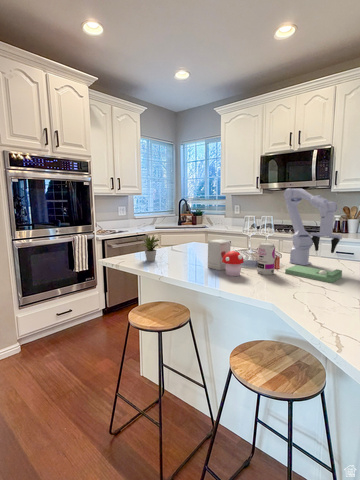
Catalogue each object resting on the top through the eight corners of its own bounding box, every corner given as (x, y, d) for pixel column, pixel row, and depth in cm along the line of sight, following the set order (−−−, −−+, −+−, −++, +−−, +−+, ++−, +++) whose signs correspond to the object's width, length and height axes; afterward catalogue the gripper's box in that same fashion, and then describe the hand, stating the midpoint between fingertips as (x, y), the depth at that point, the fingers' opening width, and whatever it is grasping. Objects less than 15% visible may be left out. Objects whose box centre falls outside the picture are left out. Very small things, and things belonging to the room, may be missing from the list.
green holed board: (285, 273, 138) (285, 266, 138) (296, 268, 146) (296, 262, 146) (332, 282, 122) (332, 275, 122) (341, 277, 130) (342, 270, 130)
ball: (329, 272, 130) (322, 274, 133) (323, 267, 129) (317, 269, 132) (328, 278, 128) (321, 280, 131) (323, 273, 127) (316, 275, 130)
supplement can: (274, 271, 141) (276, 243, 138) (272, 276, 133) (274, 245, 131) (258, 270, 144) (259, 242, 142) (255, 274, 137) (256, 244, 134)
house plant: (161, 263, 160) (161, 235, 157) (138, 263, 160) (137, 236, 158) (163, 257, 174) (163, 232, 171) (141, 258, 174) (141, 232, 172)
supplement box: (219, 270, 143) (220, 242, 141) (207, 267, 150) (207, 240, 148) (230, 267, 149) (231, 240, 147) (218, 264, 156) (218, 238, 154)
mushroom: (239, 278, 130) (239, 254, 128) (218, 275, 135) (218, 251, 133) (246, 273, 139) (247, 250, 137) (226, 270, 144) (226, 248, 142)
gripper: (308, 224, 142) (306, 250, 144) (339, 227, 131) (336, 254, 133) (314, 223, 146) (312, 248, 149) (344, 226, 136) (342, 252, 138)
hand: (324, 251), depth 141 cm, fingers open, 7 cm apart
